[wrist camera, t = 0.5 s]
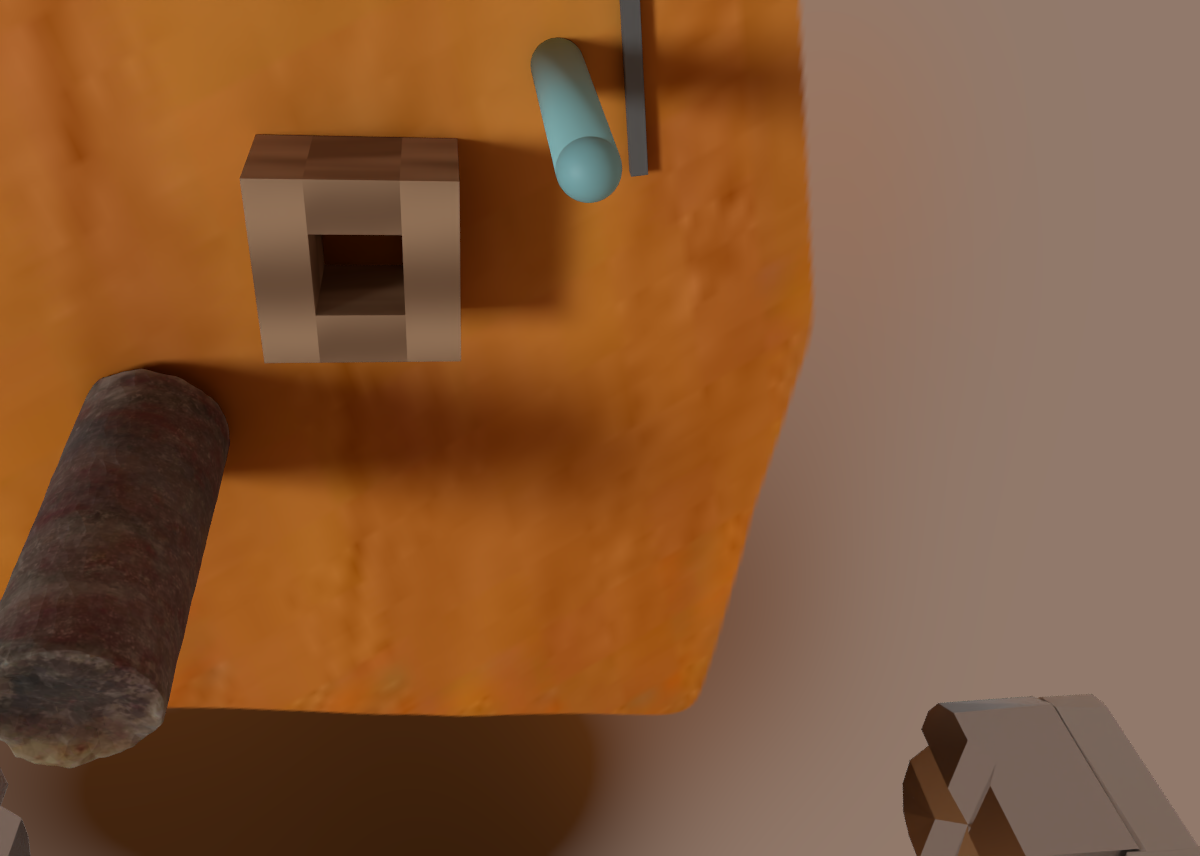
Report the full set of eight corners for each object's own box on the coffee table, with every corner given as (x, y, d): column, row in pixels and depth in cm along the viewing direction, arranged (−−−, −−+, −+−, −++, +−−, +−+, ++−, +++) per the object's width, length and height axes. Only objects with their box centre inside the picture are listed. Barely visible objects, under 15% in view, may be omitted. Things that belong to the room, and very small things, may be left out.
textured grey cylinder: (208, 345, 54) (114, 638, 38) (258, 457, 58) (192, 762, 42) (59, 375, 54) (-98, 681, 38) (120, 484, 58) (2, 801, 42)
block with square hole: (255, 134, 48) (239, 178, 44) (457, 138, 49) (459, 181, 45) (277, 309, 53) (264, 363, 49) (459, 309, 55) (460, 361, 51)
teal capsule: (531, 36, 47) (560, 148, 37) (585, 38, 48) (629, 149, 37) (529, 90, 49) (556, 213, 38) (582, 92, 49) (623, 213, 38)
